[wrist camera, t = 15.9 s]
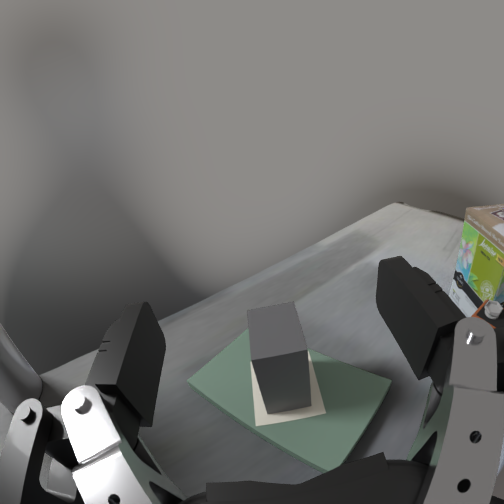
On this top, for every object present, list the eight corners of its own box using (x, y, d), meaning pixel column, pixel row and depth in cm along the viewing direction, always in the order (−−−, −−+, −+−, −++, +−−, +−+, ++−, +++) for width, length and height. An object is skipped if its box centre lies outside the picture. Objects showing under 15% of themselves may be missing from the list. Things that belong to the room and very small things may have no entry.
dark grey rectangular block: (311, 406, 26) (307, 349, 22) (267, 414, 26) (250, 360, 22) (300, 361, 31) (293, 301, 27) (261, 368, 31) (247, 310, 27)
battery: (465, 353, 27) (489, 289, 22) (501, 381, 21) (536, 318, 16) (446, 373, 25) (472, 308, 21) (484, 404, 20) (523, 342, 15)
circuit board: (190, 387, 32) (178, 364, 30) (254, 332, 39) (248, 307, 37) (332, 477, 19) (335, 464, 17) (389, 387, 26) (396, 363, 24)
